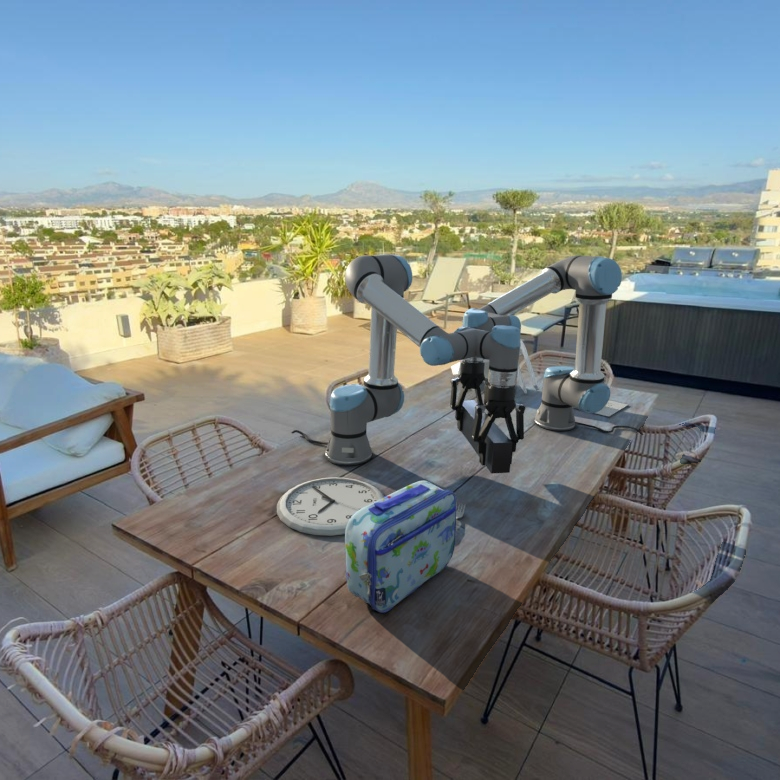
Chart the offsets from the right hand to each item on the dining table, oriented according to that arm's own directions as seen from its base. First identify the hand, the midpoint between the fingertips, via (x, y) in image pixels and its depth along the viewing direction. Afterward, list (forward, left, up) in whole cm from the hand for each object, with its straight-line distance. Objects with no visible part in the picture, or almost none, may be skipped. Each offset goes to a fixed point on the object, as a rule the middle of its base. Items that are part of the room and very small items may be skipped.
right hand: (468, 428), depth 172 cm
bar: (-3, +13, -1) cm, 13 cm away
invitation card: (-59, -61, -10) cm, 86 cm away
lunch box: (+15, +68, -10) cm, 70 cm away
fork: (+4, +43, -10) cm, 44 cm away
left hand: (-7, +26, 0) cm, 27 cm away
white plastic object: (-13, -82, -10) cm, 84 cm away
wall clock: (+37, +38, -10) cm, 54 cm away
